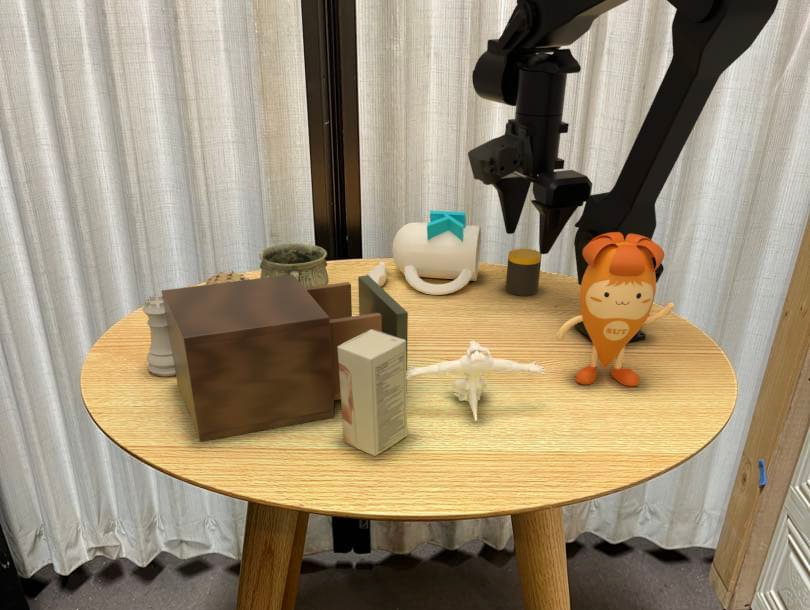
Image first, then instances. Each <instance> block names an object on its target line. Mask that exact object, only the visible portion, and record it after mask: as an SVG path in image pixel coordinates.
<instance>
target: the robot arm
mask: <svg viewBox="0 0 810 610" xmlns="http://www.w3.org/2000/svg"><path fill="white" fill-rule="evenodd" d="M629 1H630V0H516V6H515V7H514V9H513V10H512V13H511V15H510V17H509V19H508V21H507V23H506V25H505V27H504V29H503V31H502V33H501V35H500V37H498V38H491V39H488V40H487V45H486V48H487V49H486V50H485V51H484V52H483V53H482V54H481V55H480V56H479V57H478V59H477V61H476V63H475V66H474V68H473V70H472V76H471V78H472V79H471V80H472V81H471V82H472V86H473V90H474V91H475V93H476V94H477V96H479V97H480V98H481V99H483V100H486V101H491V102H495V103H498V104H502V105H507V106H511V107H515V113H514V118H509V119H507V122H506V123H505V127H504V128H505V129H504V134H502V135H500V136H497V137H494V138H492V139H490V140H488V141H486V142H484V143H482V144H480V145H478V146H476V147H474V148H472V149H471V150H469V151H468V152H467V157H468V160H469V165H470V169H471V171H472V176H473V179H474V180H476V181H480V182H481V183H482V184H483V185H485V186H491V185H492V186H493V187H494V189H495V190H496V192H497V196H498V199H499V204H500V209H501V213H502V218H503V223H504V228H505V233H506V234H507V235H511V234H512V235H513V234H515V232H516V231H517V228H518V225H519V222H520V219H521V216H522V214H523V213H522V212H523V209H524V206H525V204H526V200H527V196H528V193H529V191H530V188H531V185H532V190H531V191H532V194H533V198H534V199H531V200H530V203H531V204H532V205H533V206H534V208H535V209H536V210H537V211H538V214H539V215H538V216H539V217H538V218H539V221H538V222H539V223H538V224H539V225H538V245H539V246H538V247H539V252H540V254H542V255H547V254H549V253H550V251H551V249H552V248H553V246H554V245H555V243H556V241H557V240H558V238H559V236H560V235H561V233H562V231H563V230H564V228H565V226H566V225H567V223H568V222H569V220H570V219H571V217H573V215H574V213H575V212H576V210H577V209H578V208H580V207H582V206H584V207H583V210H582V213H581V215H580V218H579V220H578V221H577V222H576V223H575V224H574V227H575V228H577V230H576V232H575V235H574V240H573V245H574V255H575V256H574V257H575V265H576V274H577V275H576V276H577V283H578V284H577V285H580V286H581V283H582V279H583V276H584V273H585V271H586V269H587V267H588V265H589V264H588V263H587V262H586V260H585V259H584V257H583V254H582V252H583V249H584V247H585V246H586V245H587V244H588V243H589V242H590V241H591V240H592V239H593V238H595V237H597V236H599V235H602V234H606V233H611V232H620V233H622V235H623V237H624V241H625V239H626V236H627V235H628V234H637V235H641V236H644V237H647V238H649V239H651V240H652V239H653V236H654V234H655V231H656V228H657V211H656V204H657V200H658V199H659V196H660V194H661V193H662V190H663V189H664V187H665V184H666V182H667V180H668V178H669V176H670V175H671V173H672V171H673V169H674V167H675V165H676V162H677V161H678V159H679V157H680V155H681V153H682V151H683V149H684V148H685V145H686V143H687V141H688V140H689V137H690V135H691V134H692V132H693V129H694V128H695V125H696V123H697V121H698V120H699V118H700V115H701V114H702V112H703V110H704V109H705V106H706V104H707V102H708V100H709V99H710V96H711V94H712V92H713V90H714V88H715V86H716V84H717V82H718V80H719V78H720V77H721V75H722V74H723V73H724V72H725V71H726V70H727V69H728V68H729V67H731V65H732V64H734V62H736V61H737V60H738V59H739V58H740V57H741V56H742V55H743V54H744V53H746V52H747V50H749V49H750V48H751V46H752V45H753V43H754V42H755V41H756V39H757V38H758V37H759V36H760V34H761V32H762V31H763V30H764V28H765V27H766V25H767V24H768V22H769V21H770V19H771V18H772V16H773V15H774V13H775V11H776V9H777V6H778V4H779V1H780V0H666V2H668V3H669V4H670V5H671V6H672V7H674V8H675V13H674V16H673V18H672V19H673V20H672V23H671V42H672V57H671V59H670V63H669V65H668V67H667V70H666V71H665V74H664V76H663V78H662V80H661V82H660V85H659V87H658V89H657V91H656V94H655V95H654V98H653V100H652V102H651V104H650V107H649V109H648V110H647V113H646V115H645V117H644V120H643V122H642V124H641V127H640V129H639V131H638V133H637V135H636V138H635V140H634V142H633V143H632V146H631V149H630V150H629V153H628V155H627V157H626V158H625V159H626V160H625V162H624V164H623V166H622V168H621V170H620V173H619V175H618V177H617V179H616V181H615V183H614V185H613V187H612V189H610V190H609V191H607V192H601V193H596V194H592V191H593V182H592V181H591V180H590V178H589V177H588V176H587V175H586V174H583V173H580V172H578V171H576V170H574V169H567V170H566V169H565V170H564V168H565V159H562V158H560V157H559V151H560V145H561V143H560V142H561V134H568V132H569V126H570V124H569V122H565V121H563V116H564V115H563V114H564V106H565V96H566V89H567V79H568V75H569V74H579V73H580V72H581V70H582V66H581V65H580V63H579V61H578V60H577V59H576V58H575V57H574V55H573V52H572V50H571V49H570V48H562V47H567V46H568V47H569V46H571V45H573V44H574V43H575V42H576V41H578V40H579V39H580V38H581V37H582V36H584V35H585V34H586V33H588V31H590V29H591V28H592V25H593V23H594V21H595V20H596V19H597V18H599V17H600V16H602V15H603V14H605V13H607V12H609V11H611V10H613V9H615V8H617V7H619V6H621V5H622V4H625V3H627V2H629ZM556 170H557V171H556ZM652 241H653V240H652ZM652 261H653V265H654V268H655V267H656V260H655V257H653V258H652ZM664 269H665V268H664V265H663V262H662V263H661V264H660V265H659V267H658V268H657V269H656V270H655V275H656V284H657V283H658V282H659V280H660V278H661V276H662V275H663V272H664ZM573 327H574V328H575V329H576V330H577V331H579V332H581V333H582V334H583V335H585V336H586V337H587V338H589V339H590V340H591V338H590V336H589V334H588V332H587V330H586V328H585V325H584V323H583V321H582V322H579V323H577V324H575V325H574V326H573ZM646 338H647V333H645V332H643V331H642V330H641V329H640V330H639V331H638V332H637V333H636V334H635V335H634V337H633V338H632V339H631V340H630V341H629V342H635V341H641V340H645V339H646Z"/></svg>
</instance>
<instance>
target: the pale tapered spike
mask: <svg viewBox="0 0 810 610" xmlns="http://www.w3.org/2000/svg"><path fill="white" fill-rule="evenodd" d="M387 274H388V273H387V268H386V262H385V261H380V262H379V263H378V264H377V265H376V266H375V267H373V269H370V270H369V271H368V272H367V274H366V276H367V275H369V276H370V277H371V278H372V279H373V280H374V281H375V282H376V283H377V284H378V285H379V286H380V287H383V286H384V285H385V283H386V282H387V277H388V275H387Z"/></svg>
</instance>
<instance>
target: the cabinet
mask: <svg viewBox="0 0 810 610" xmlns="http://www.w3.org/2000/svg"><path fill="white" fill-rule="evenodd" d="M161 295H162V296H163V302H164V308H165V314H166V320H167V326H168V332H169V338H170V343H171V349H172V355H173V361H174V367H175V373H176V375H175V377H176V385H177V388H178V391H179V392H180V395H181V398H182V400H183V403H184V405H185V408H186V410H187V413H188V415H189V418H190V420H191V422H192V425H193V428H194V431H195V433H196V435H197V437H198V441H199V442H206V441H210V440H217V439H222V438H227V437H232V436H233V437H234V436H238V435H244V434H249V433H255V432H262V431H265V430H270V429H272V430H273V429H279V428H282V427H289V426H293V425H300V424H306V423H311V422H315V421H316V422H317V421H321V420H322V421H323V420H327V419H333V418H335V405H334V402H335V401H334V400H333V381H332V359H331V338H330V318H329V316H328V315H327V314H326V313H325V312H324V310H323V309H322V308H321V307H320V306H319V305H318V303H317V302H316V301H315V300H314V299H313V297H312V296H311V295H310V294H309V293H308V292H307V290H306V289H305V288H304V287H303V286H302V285H301V283H300V282H299V281H298V280H297V279H296V278H295V276H294V275H293V274H291V275H283V276H275V277H267V278H260V277H259V278H252V279H250V280H242V281H234V282H226V283H218V284H210V285H205V284H204V285H195V286H186V287H178V288H171V289H163V290H161Z"/></svg>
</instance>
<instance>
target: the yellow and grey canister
mask: <svg viewBox="0 0 810 610" xmlns="http://www.w3.org/2000/svg"><path fill="white" fill-rule="evenodd" d="M542 255H543V254H540V251H538V250H536V249H532V248H514V249H511V250H510V251H509V252H508V256H507V257H508V258H507V266H506V267H507V268H506V269H507V270H506V278H505V279H506V280H505V291H506V293H508V294H510V295H513V296H519V297H529V296H533V295H536V294H537V293H538V291H539V284H540V274H541V265H542Z"/></svg>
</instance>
